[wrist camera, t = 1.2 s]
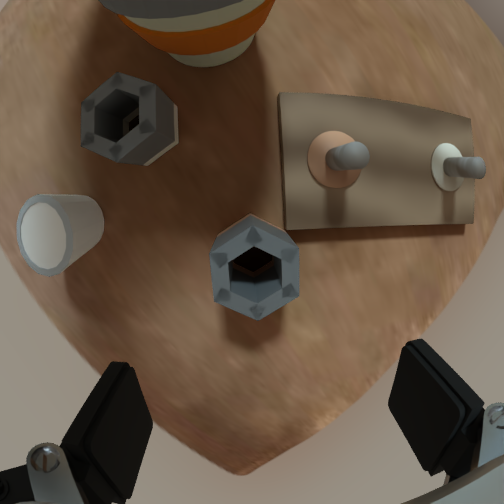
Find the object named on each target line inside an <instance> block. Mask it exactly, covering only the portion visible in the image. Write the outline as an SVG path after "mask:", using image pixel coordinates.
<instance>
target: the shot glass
mask: <svg viewBox="0 0 504 504" xmlns="http://www.w3.org/2000/svg"><path fill="white" fill-rule="evenodd" d="M103 232H104V217H103V213H102V210H101V208H100V207H99V205H98V204H97V202H96V201H95V200H93V199H92V198H90V197H89V196H85V195H60V194H37V195H35V196H33V197H32V198H30V199H28V200H27V201H26V203H25V204H24V205H23V207H22V208H21V210H20V213H19V217H18V221H17V241H18V244H19V248H20V251H21V254H22V256H23V257H24V259H25V261H26V262H27V264H28V265H29V266H30V267H31V268H32V269H33V270H35V271H36V272H37V273H38V274H41V275H45V276H49V277H50V276H54V275H57V274H60V273H61V272H62V271H64V270H65V269H66V268H67V267H69V266H70V265H71V264H72V263H74V262H75V261H76V260H77V259H79V258H80V257H81V256H82V255H84V254H85V253H86V252H88V251H89V250H90V249H92V248H93V247H94V246H95V245H96V244H97V243H98V242H99V241H100V239H101V237H102V234H103Z"/></svg>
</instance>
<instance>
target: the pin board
mask: <svg viewBox="0 0 504 504" xmlns="http://www.w3.org/2000/svg"><path fill="white" fill-rule="evenodd" d="M277 100H278V114H279V129H280V145H281V163H282V182H283V205H284V227H285V229H286V230H299V229H320V228H342V227H367V226H396V225H431V224H473V222H474V200H475V179H482V178H483V177H484V176H485V173H486V166H485V163H484V161H483V159H482V158H480V157H474V150H473V137H472V127H471V119H469V118H466V117H463V116H459V115H455V114H451V113H448V112H444V111H439V110H435V109H431V108H426V107H421V106H417V105H411V104H406V103H400V102H394V101H388V100H381V99H374V98H366V97H357V96H347V95H335V94H320V93H288V92H279V94H278V97H277Z"/></svg>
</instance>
